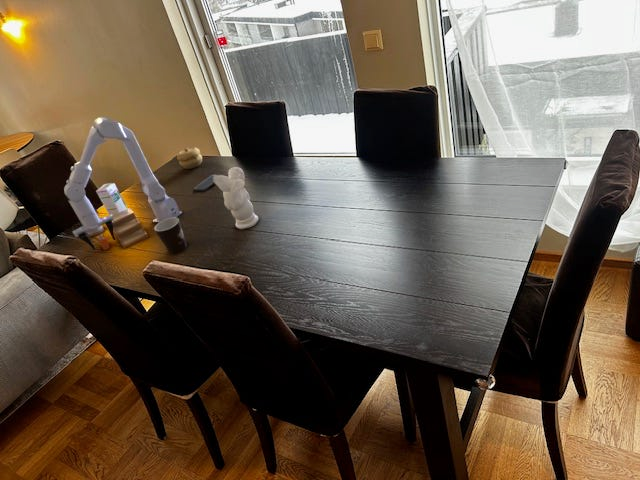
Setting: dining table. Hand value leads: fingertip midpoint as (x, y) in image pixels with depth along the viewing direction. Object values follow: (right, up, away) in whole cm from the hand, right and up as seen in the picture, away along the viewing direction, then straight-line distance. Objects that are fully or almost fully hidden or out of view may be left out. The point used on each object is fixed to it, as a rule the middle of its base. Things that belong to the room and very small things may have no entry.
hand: (104, 244), depth 171 cm
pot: (+18, +39, +57) cm, 71 cm away
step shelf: (+8, +4, +5) cm, 10 cm away
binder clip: (0, -1, +1) cm, 1 cm away
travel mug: (-10, +5, +15) cm, 18 cm away
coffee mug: (+33, -1, -12) cm, 35 cm away
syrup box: (-4, +12, +24) cm, 27 cm away
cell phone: (+32, +28, +32) cm, 53 cm away
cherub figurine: (+57, +7, -11) cm, 58 cm away
